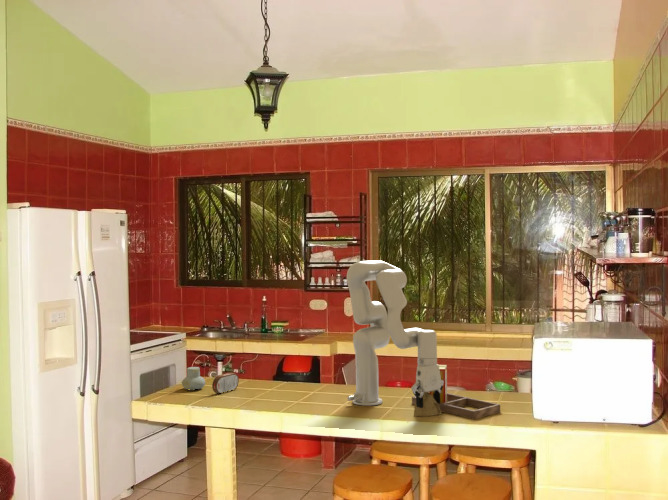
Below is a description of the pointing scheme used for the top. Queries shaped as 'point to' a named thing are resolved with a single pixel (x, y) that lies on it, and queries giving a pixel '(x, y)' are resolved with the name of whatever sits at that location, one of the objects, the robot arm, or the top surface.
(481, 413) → the divided brown tray
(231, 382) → the tin
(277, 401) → the top surface
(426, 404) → the rock
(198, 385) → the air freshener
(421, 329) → the robot arm
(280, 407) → the top surface
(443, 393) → the baking soda box
